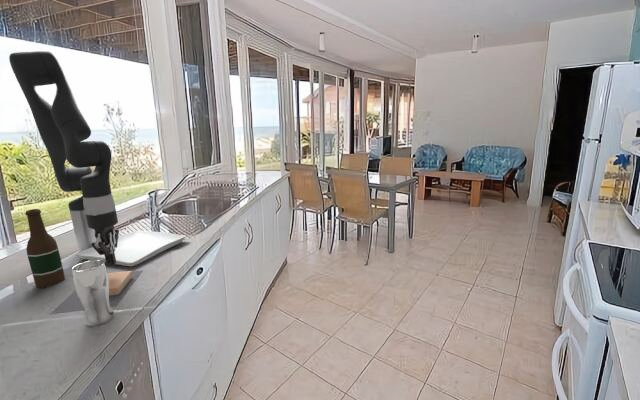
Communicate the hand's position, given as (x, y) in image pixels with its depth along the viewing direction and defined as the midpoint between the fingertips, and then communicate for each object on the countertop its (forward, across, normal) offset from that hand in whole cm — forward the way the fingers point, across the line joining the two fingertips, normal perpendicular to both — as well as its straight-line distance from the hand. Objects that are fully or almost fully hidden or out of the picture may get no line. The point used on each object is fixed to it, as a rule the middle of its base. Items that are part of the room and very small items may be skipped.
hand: (111, 264), depth 100 cm
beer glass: (+7, +20, +4) cm, 22 cm away
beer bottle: (+7, -6, -21) cm, 23 cm away
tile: (+5, -2, 0) cm, 5 cm away
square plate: (+7, -27, -3) cm, 28 cm away
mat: (+6, +4, -2) cm, 8 cm away
